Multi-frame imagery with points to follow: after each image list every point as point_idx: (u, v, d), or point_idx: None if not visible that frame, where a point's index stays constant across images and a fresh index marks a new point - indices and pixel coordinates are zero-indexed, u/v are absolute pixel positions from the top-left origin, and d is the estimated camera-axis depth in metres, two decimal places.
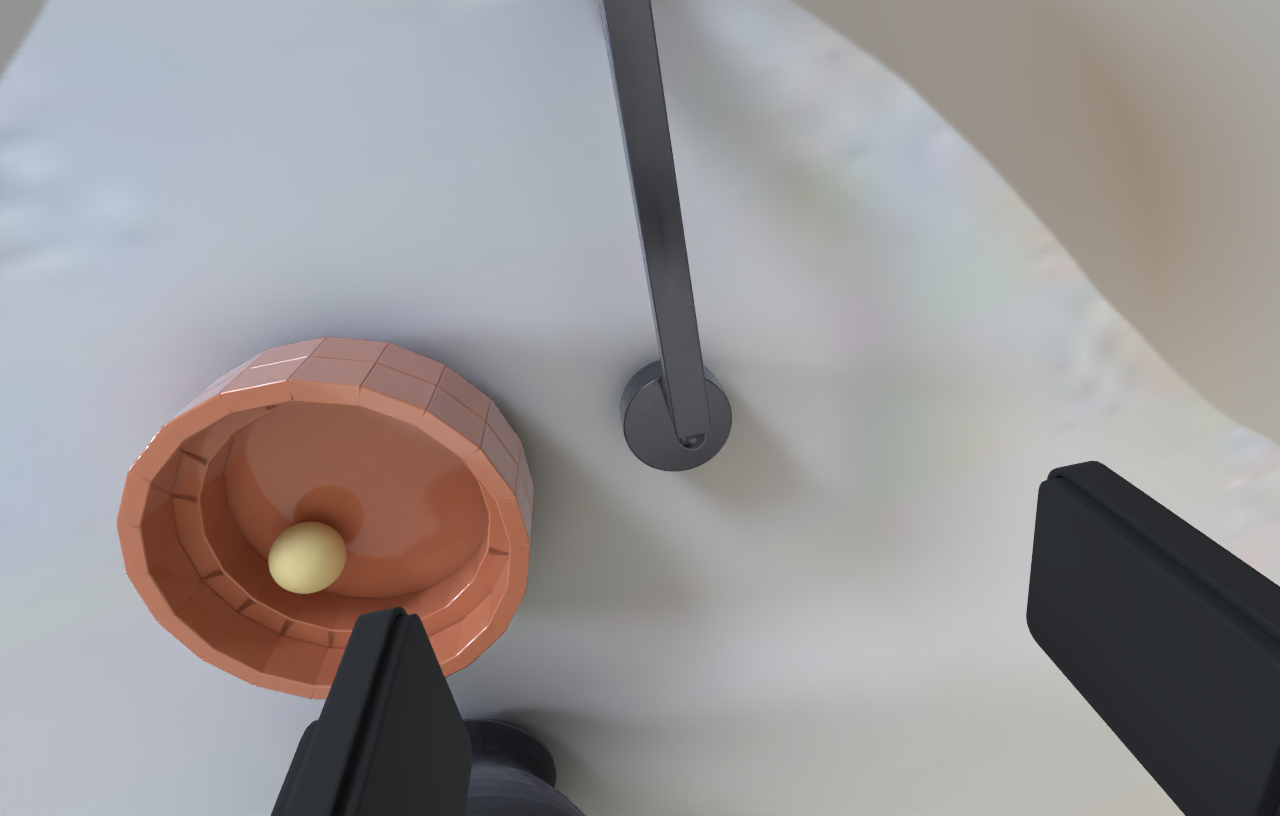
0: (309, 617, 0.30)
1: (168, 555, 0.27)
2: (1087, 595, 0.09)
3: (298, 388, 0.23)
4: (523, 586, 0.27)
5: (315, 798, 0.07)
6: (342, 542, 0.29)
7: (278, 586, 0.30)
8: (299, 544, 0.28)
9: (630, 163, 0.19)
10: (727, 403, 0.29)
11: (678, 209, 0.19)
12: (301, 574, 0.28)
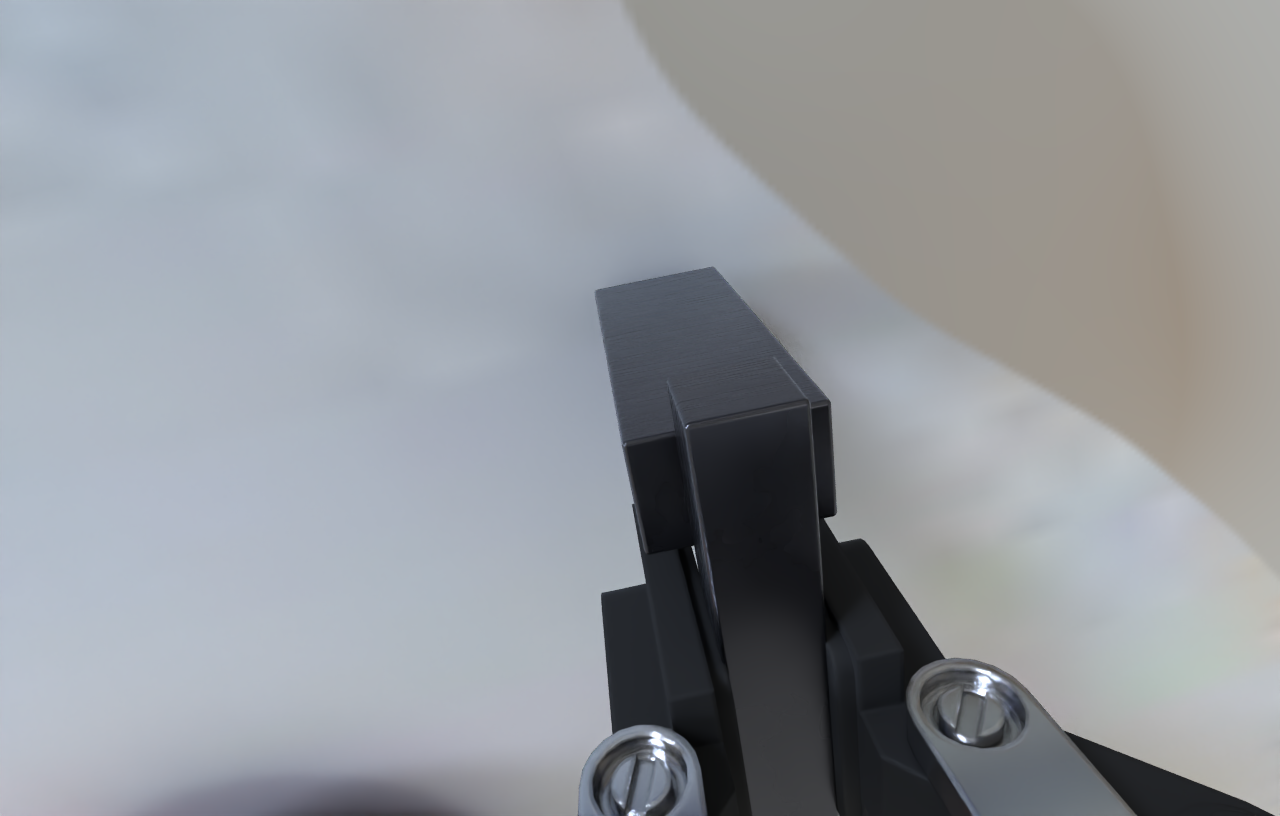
0: None
1: None
2: None
3: None
4: None
5: (678, 625, 0.08)
6: None
7: None
8: None
9: None
10: None
11: None
12: None
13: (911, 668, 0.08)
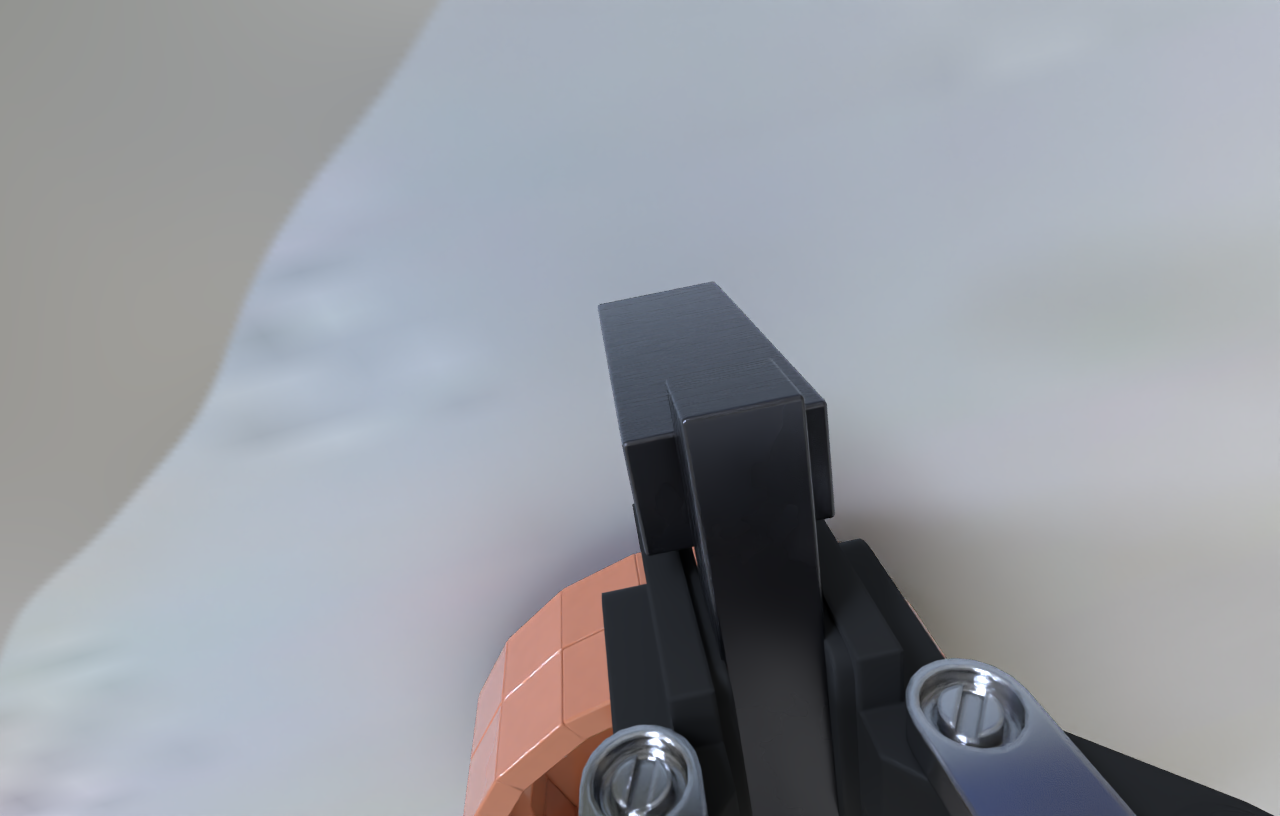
0: None
1: None
2: None
3: None
4: None
5: (679, 625, 0.08)
6: None
7: None
8: None
9: None
10: None
11: None
12: None
13: (910, 668, 0.08)
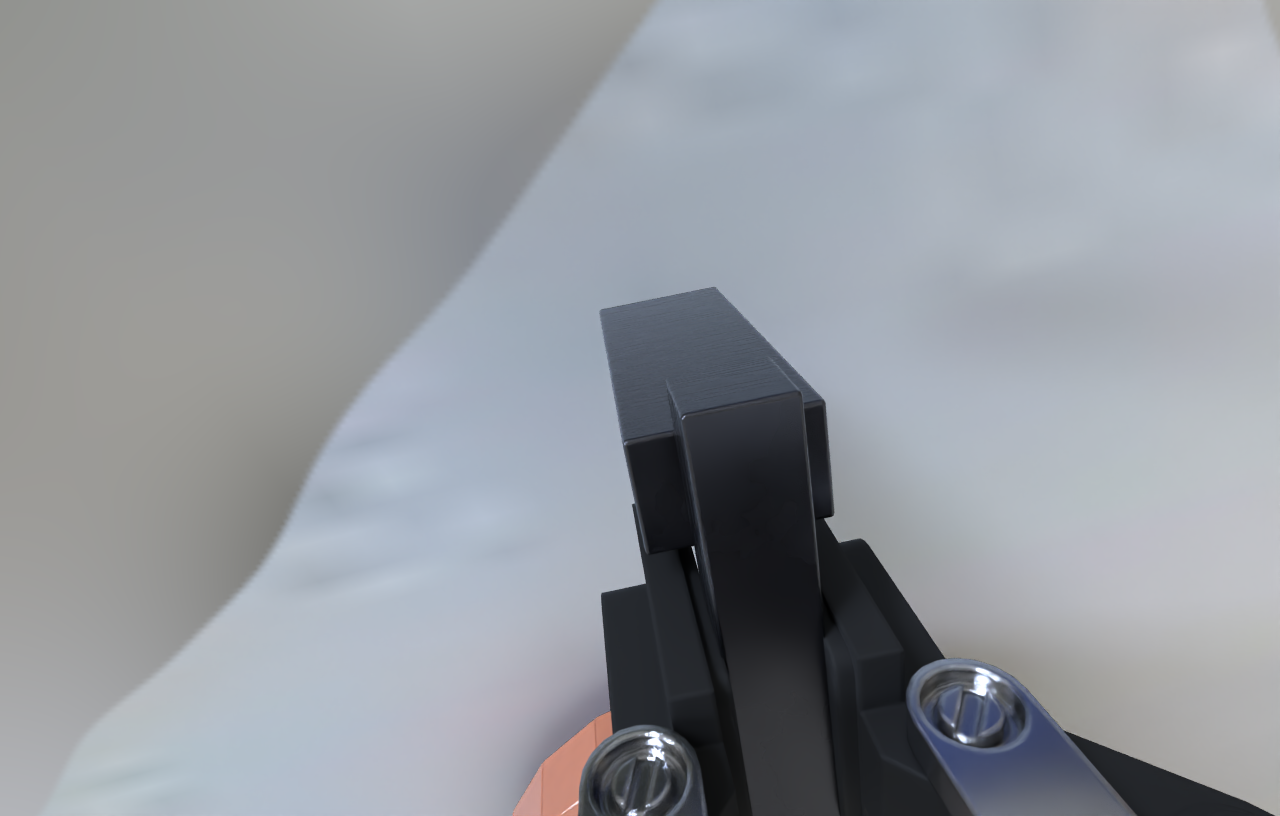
0: None
1: None
2: None
3: None
4: None
5: (678, 624, 0.08)
6: None
7: None
8: None
9: None
10: None
11: None
12: None
13: (911, 668, 0.08)
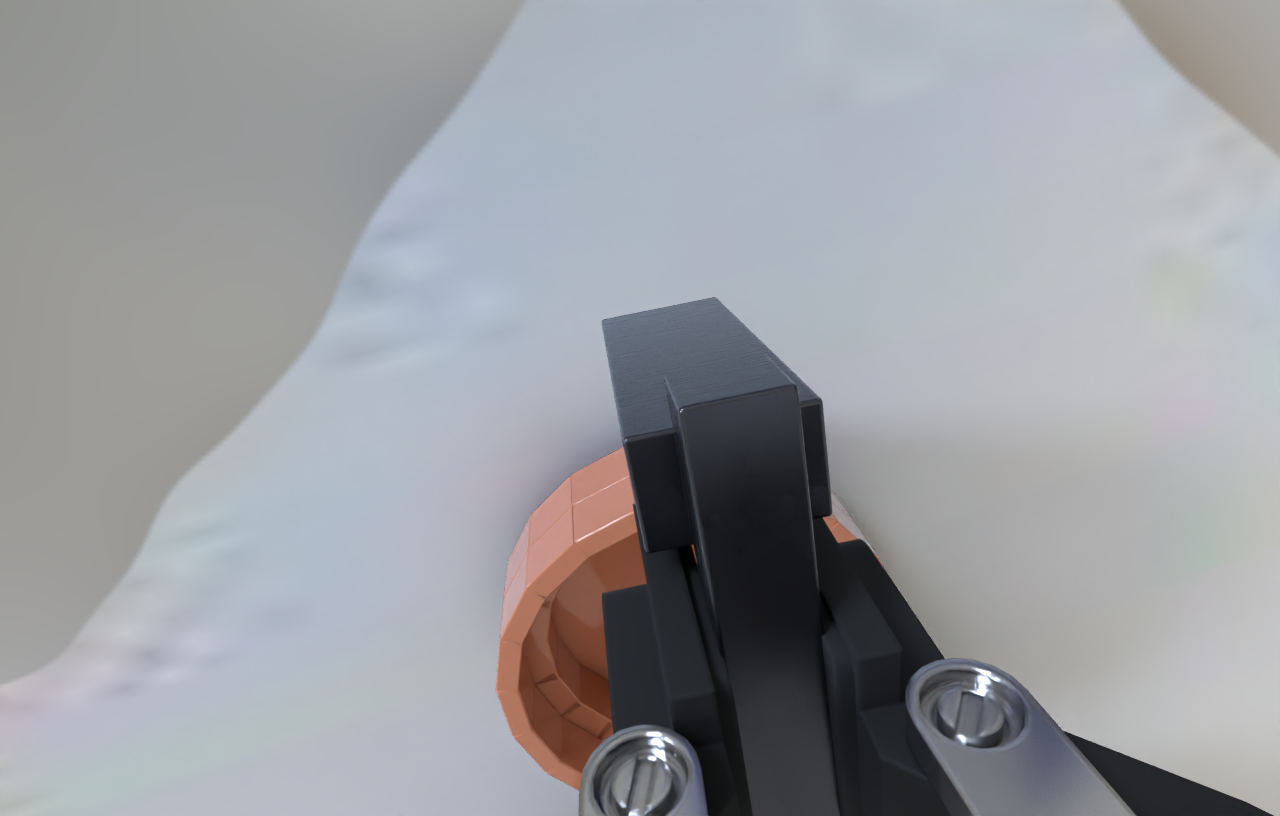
0: None
1: (521, 665, 0.25)
2: None
3: None
4: None
5: (678, 624, 0.08)
6: None
7: (590, 685, 0.29)
8: None
9: None
10: None
11: None
12: None
13: (910, 668, 0.08)
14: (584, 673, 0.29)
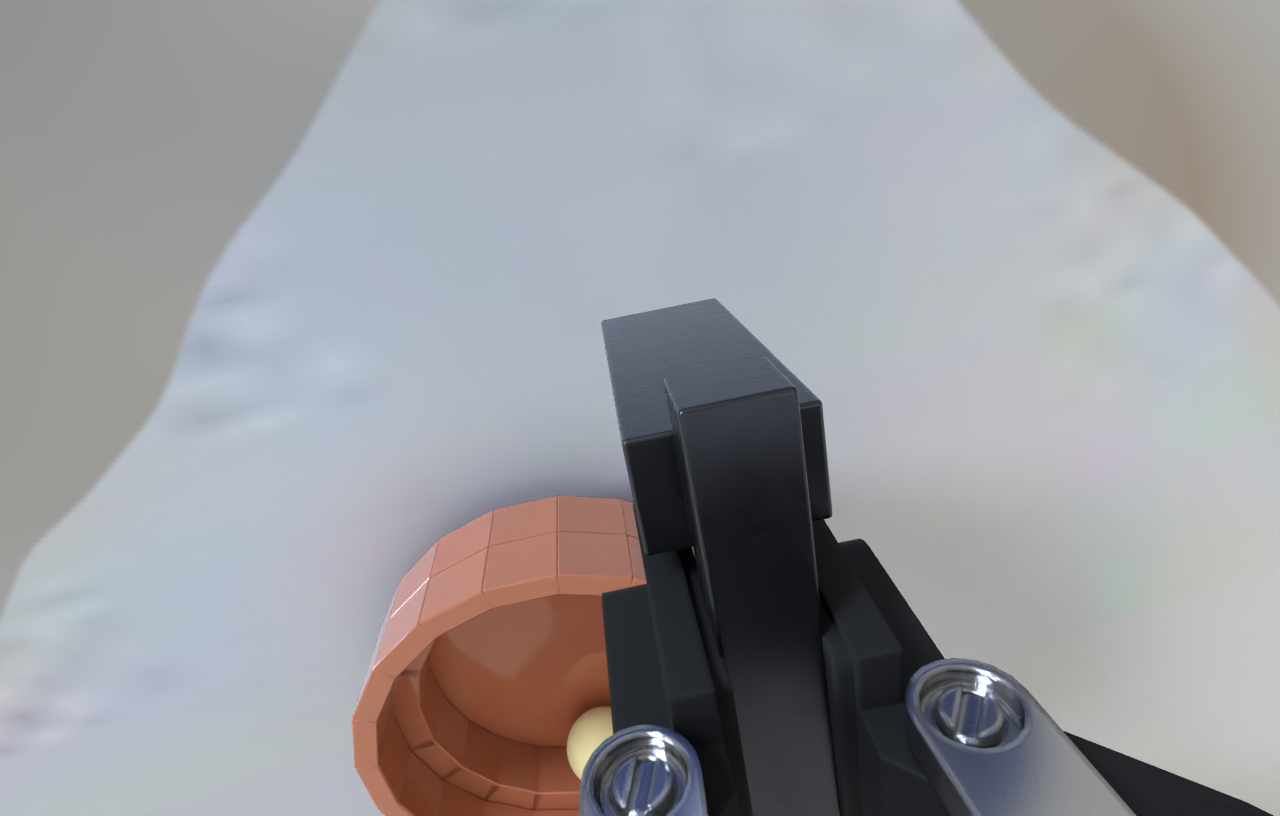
0: (513, 779, 0.28)
1: (388, 737, 0.24)
2: None
3: (567, 581, 0.21)
4: None
5: (679, 625, 0.08)
6: (567, 751, 0.28)
7: (478, 744, 0.28)
8: None
9: None
10: None
11: None
12: None
13: (910, 668, 0.08)
14: (473, 732, 0.28)
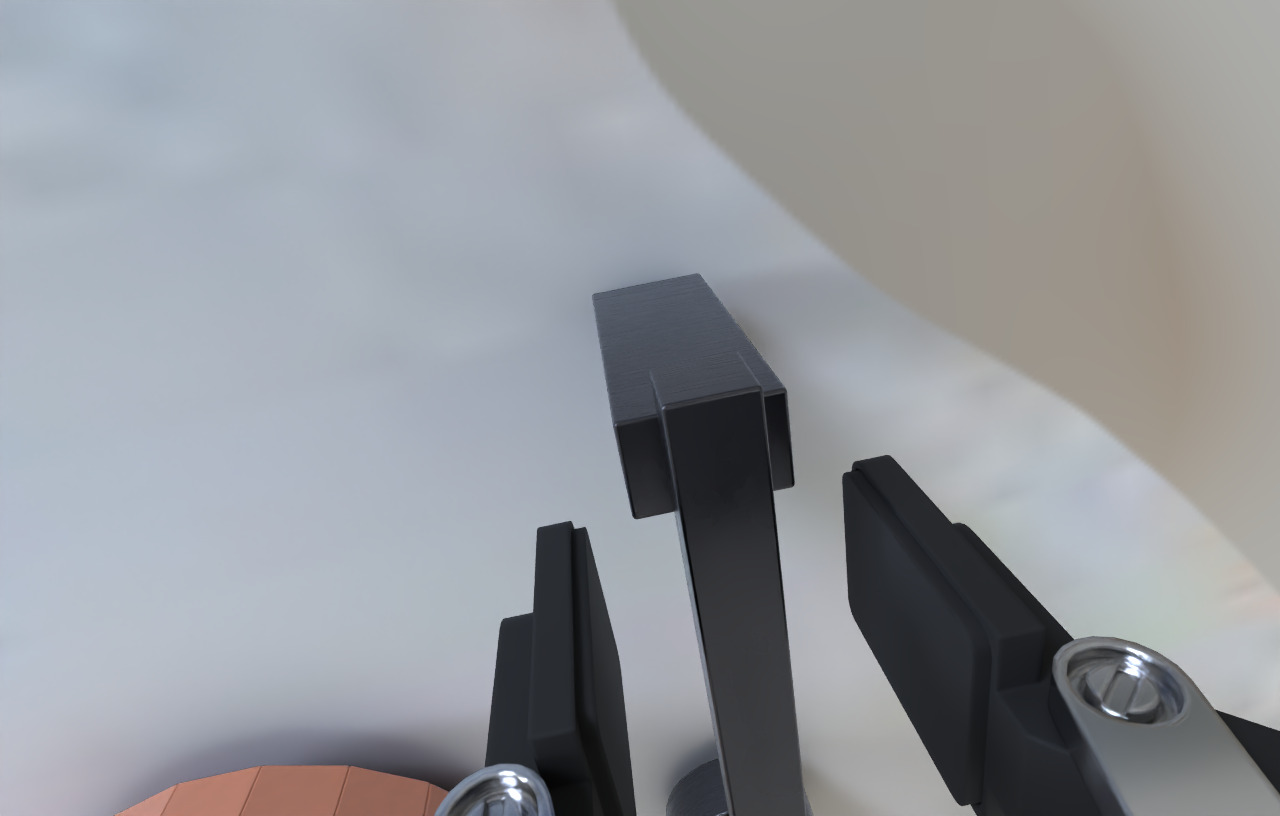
0: None
1: None
2: (874, 575, 0.10)
3: None
4: None
5: (555, 658, 0.08)
6: None
7: None
8: None
9: (732, 810, 0.11)
10: None
11: None
12: None
13: None
14: None
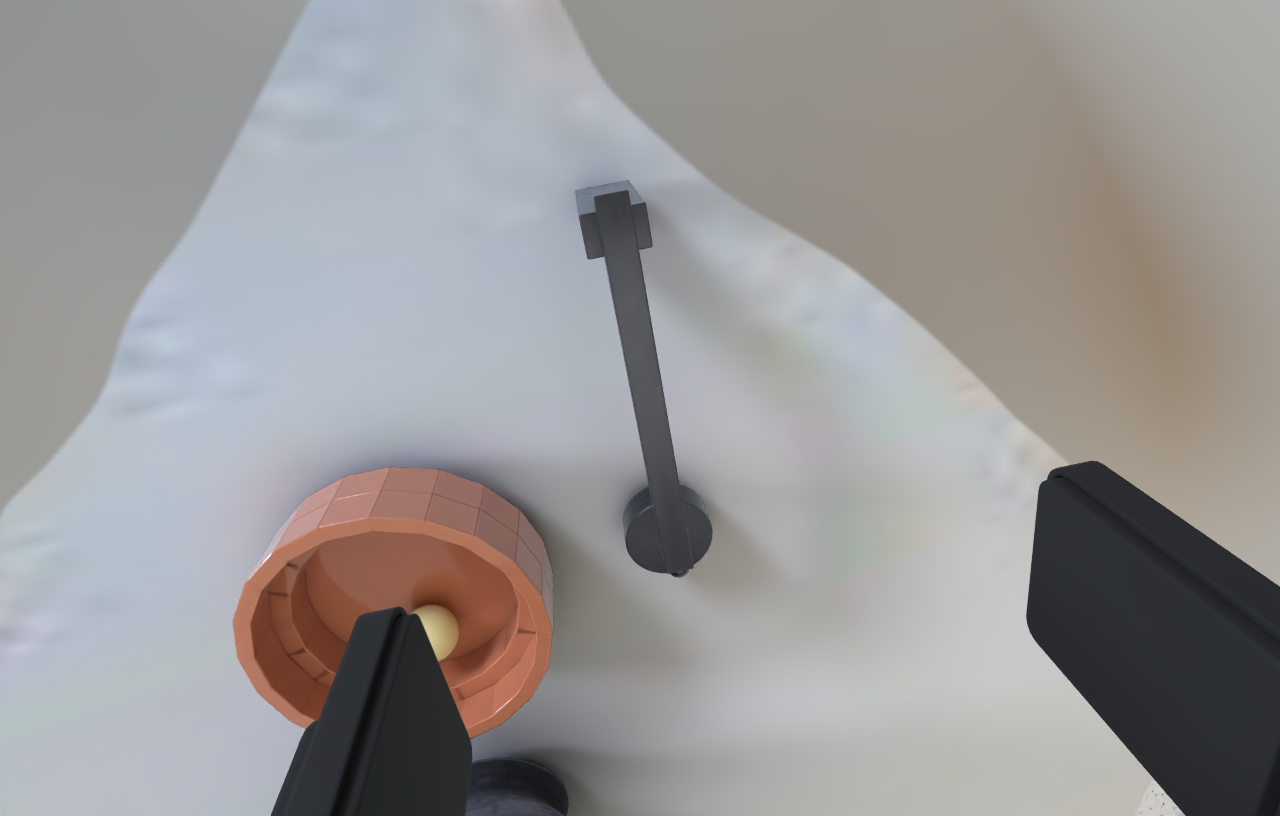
0: None
1: (266, 641, 0.34)
2: (1087, 595, 0.09)
3: (377, 522, 0.30)
4: (546, 663, 0.34)
5: (315, 799, 0.07)
6: None
7: None
8: None
9: (632, 394, 0.26)
10: (708, 522, 0.36)
11: (666, 422, 0.26)
12: None
13: None
14: (342, 648, 0.38)
